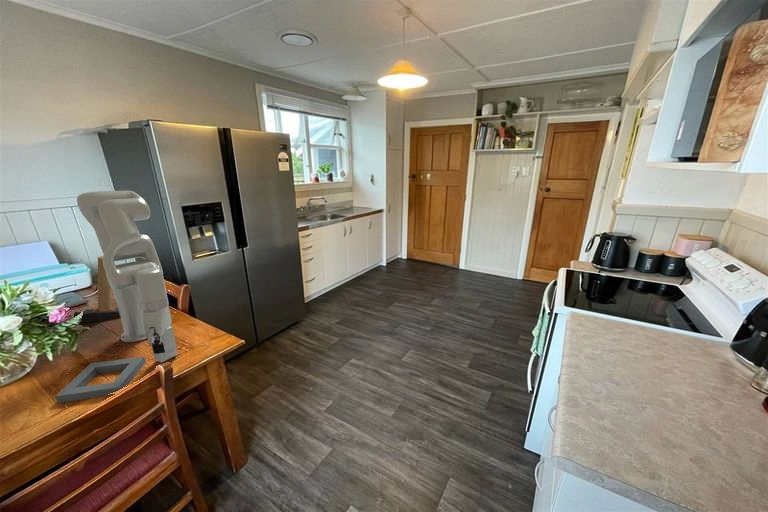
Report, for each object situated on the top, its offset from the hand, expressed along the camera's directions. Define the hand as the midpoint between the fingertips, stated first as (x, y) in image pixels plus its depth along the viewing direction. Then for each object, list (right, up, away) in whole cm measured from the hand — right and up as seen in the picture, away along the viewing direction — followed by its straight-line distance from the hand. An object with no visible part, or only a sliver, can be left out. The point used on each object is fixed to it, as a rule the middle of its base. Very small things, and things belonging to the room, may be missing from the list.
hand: (164, 346), depth 108 cm
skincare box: (0, -5, +2) cm, 5 cm away
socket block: (-12, -8, -10) cm, 18 cm away
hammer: (-49, +4, +30) cm, 58 cm away
